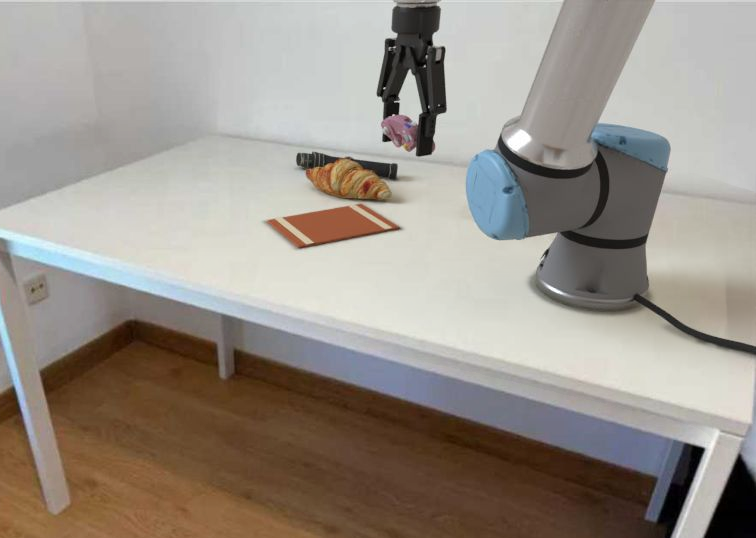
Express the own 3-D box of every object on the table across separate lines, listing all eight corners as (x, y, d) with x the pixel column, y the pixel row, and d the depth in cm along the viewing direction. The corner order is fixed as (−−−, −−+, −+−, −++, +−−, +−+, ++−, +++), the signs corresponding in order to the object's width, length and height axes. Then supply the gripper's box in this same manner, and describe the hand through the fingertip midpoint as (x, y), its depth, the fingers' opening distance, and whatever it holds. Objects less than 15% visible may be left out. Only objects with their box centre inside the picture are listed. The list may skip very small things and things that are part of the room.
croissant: (396, 215, 139) (409, 176, 138) (374, 204, 131) (387, 163, 130) (313, 193, 151) (324, 157, 149) (287, 182, 142) (299, 144, 141)
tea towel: (399, 228, 124) (399, 226, 123) (298, 248, 117) (298, 245, 117) (361, 205, 135) (361, 203, 134) (267, 222, 128) (267, 219, 128)
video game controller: (385, 151, 123) (372, 118, 119) (405, 137, 124) (393, 103, 119) (418, 165, 116) (406, 130, 111) (439, 150, 116) (427, 114, 112)
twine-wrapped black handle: (403, 161, 148) (300, 148, 158) (396, 162, 144) (290, 149, 154) (400, 181, 150) (298, 167, 160) (393, 183, 145) (288, 168, 155)
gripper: (482, 8, 100) (464, 161, 111) (397, -2, 117) (389, 131, 129) (439, 11, 97) (425, 167, 109) (359, 1, 115) (354, 136, 126)
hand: (406, 147), depth 119 cm, fingers closed on video game controller, 10 cm apart
